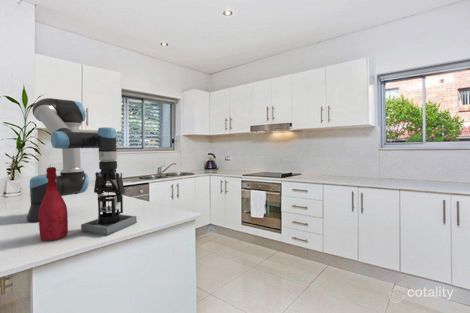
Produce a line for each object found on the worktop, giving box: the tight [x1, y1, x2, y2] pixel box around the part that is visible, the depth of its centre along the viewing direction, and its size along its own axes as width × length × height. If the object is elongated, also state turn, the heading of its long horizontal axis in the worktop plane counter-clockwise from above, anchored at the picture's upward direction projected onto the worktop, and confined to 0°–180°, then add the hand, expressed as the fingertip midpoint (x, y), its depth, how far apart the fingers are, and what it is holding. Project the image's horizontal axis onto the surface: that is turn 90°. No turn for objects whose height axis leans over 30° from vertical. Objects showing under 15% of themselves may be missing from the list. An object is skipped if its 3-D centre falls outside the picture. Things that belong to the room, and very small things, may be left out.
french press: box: [97, 174, 124, 225], centre depth 116 cm, size 12×9×23 cm
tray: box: [80, 213, 138, 237], centre depth 117 cm, size 15×18×4 cm
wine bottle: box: [38, 166, 69, 242], centre depth 104 cm, size 10×10×30 cm
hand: (109, 208), depth 116 cm, fingers closed on french press, 9 cm apart
